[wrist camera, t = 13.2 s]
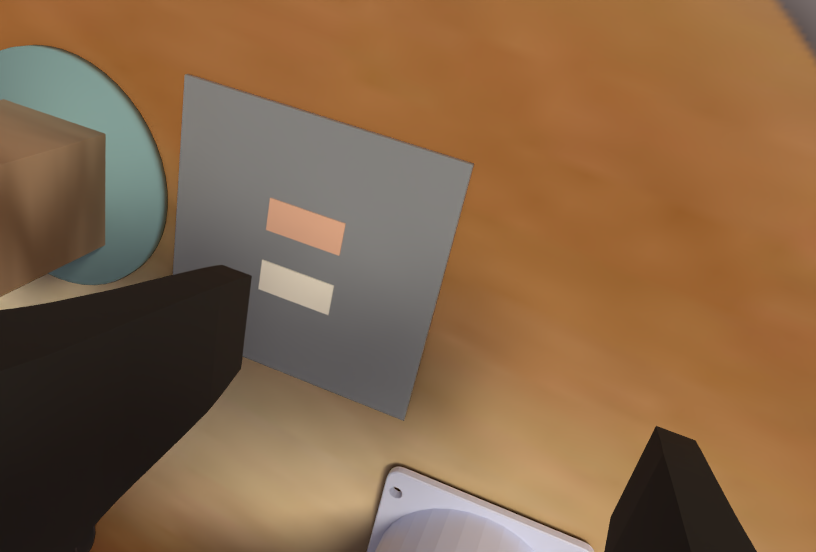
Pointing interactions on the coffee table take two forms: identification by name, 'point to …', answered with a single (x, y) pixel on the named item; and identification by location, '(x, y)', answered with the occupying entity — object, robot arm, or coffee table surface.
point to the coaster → (125, 153)
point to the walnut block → (47, 193)
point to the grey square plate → (319, 237)
